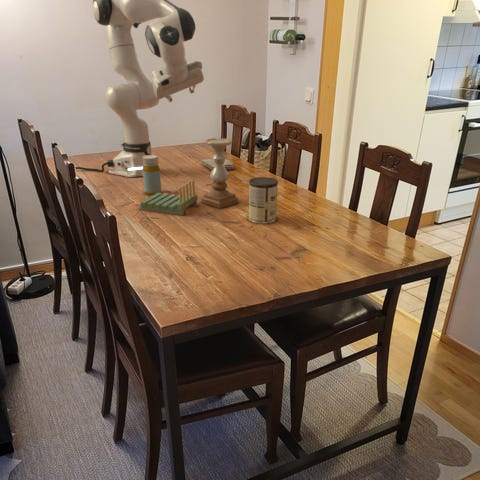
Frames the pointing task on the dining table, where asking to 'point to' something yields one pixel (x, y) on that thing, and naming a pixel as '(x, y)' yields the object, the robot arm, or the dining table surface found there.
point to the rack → (171, 201)
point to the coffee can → (262, 199)
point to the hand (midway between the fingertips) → (181, 96)
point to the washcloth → (211, 164)
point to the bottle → (151, 175)
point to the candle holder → (219, 177)
